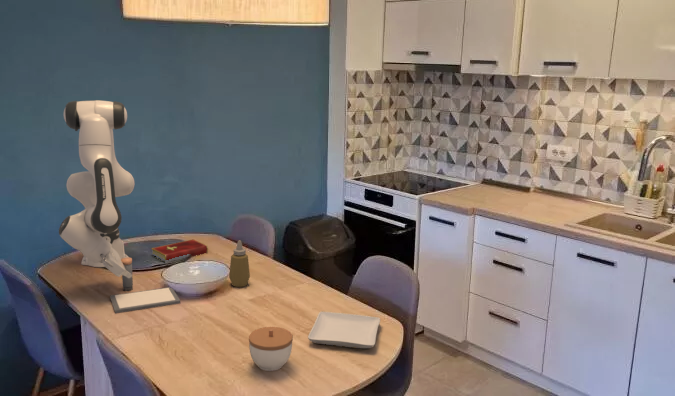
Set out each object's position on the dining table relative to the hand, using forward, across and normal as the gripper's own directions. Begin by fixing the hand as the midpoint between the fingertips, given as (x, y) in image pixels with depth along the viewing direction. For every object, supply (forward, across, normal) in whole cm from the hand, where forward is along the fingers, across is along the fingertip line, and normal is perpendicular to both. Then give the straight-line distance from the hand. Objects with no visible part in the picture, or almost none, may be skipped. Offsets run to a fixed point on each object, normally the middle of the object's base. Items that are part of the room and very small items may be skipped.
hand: (128, 272), depth 221 cm
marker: (+4, 0, +5) cm, 7 cm away
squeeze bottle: (+33, -11, -23) cm, 41 cm away
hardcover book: (+24, +32, -13) cm, 42 cm away
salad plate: (+46, -65, -36) cm, 87 cm away
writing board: (+7, -13, +2) cm, 15 cm away
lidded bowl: (+25, -73, -15) cm, 79 cm away
